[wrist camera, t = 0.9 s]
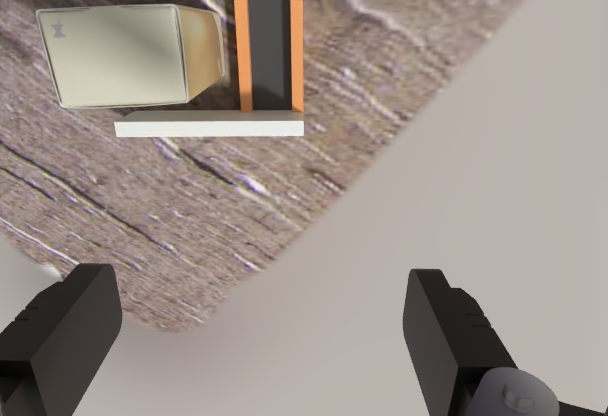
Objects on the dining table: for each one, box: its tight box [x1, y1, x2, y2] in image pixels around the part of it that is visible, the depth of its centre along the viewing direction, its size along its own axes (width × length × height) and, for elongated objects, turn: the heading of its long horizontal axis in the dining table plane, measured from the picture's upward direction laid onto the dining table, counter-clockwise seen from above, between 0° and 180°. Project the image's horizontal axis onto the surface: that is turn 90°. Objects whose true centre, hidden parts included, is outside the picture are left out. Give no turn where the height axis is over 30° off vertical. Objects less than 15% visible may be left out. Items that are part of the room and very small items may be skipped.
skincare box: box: [36, 4, 225, 108], centre depth 24 cm, size 6×4×12 cm
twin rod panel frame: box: [114, 0, 304, 137], centre depth 28 cm, size 11×12×4 cm
